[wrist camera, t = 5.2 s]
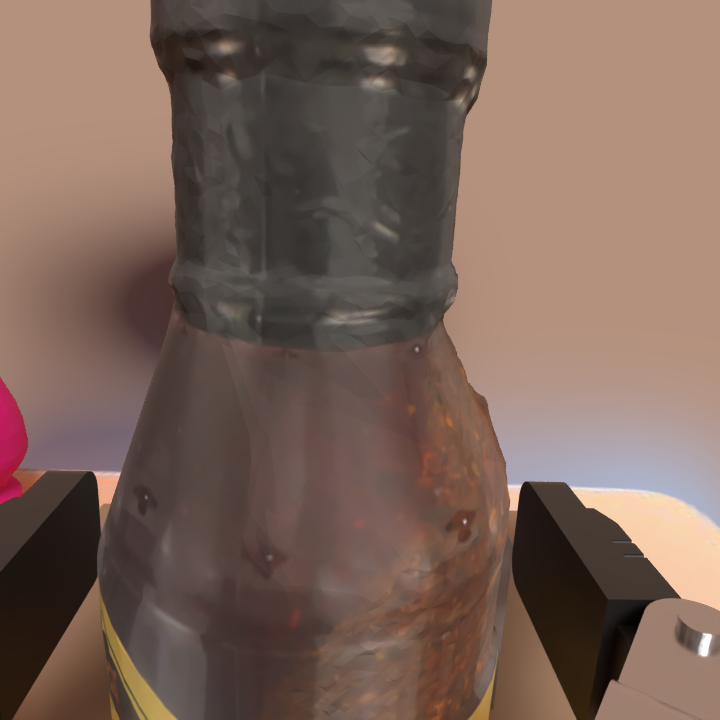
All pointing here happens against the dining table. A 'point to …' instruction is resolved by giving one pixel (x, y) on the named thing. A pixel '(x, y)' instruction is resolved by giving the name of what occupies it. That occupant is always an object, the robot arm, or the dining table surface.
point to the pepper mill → (10, 444)
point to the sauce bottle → (310, 381)
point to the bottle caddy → (509, 696)
